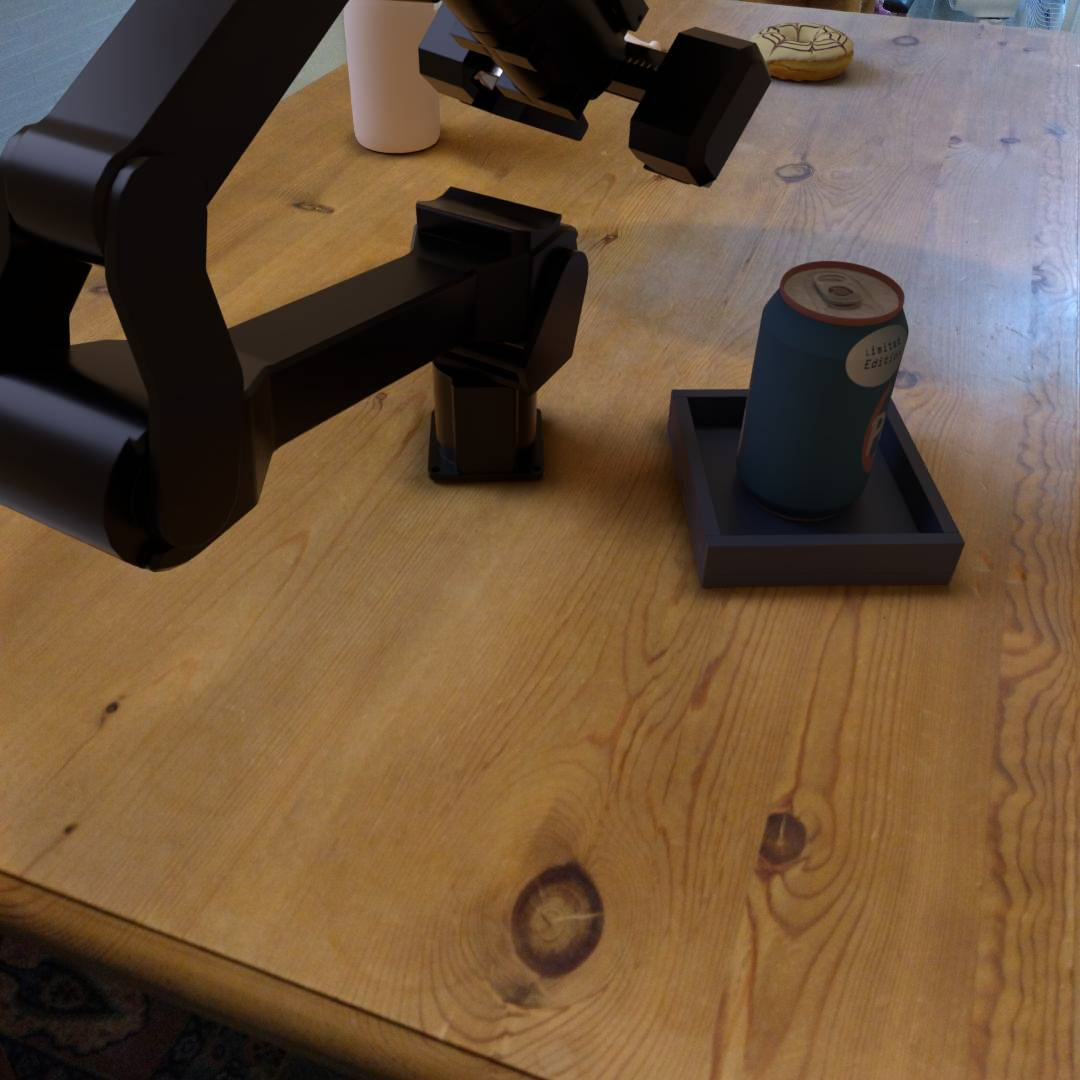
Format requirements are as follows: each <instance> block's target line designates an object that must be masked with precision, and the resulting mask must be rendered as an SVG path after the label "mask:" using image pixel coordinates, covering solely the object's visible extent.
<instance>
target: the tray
mask: <svg viewBox="0 0 1080 1080" xmlns="http://www.w3.org/2000/svg"><path fill="white" fill-rule="evenodd" d="M748 390H749V388H731V389H730V388H709V389H708V388H707V389H706V388H703V389H700V388H699V389H698V388H693V389H687V388H686V389H685V388H684V389H683V388H682V389H678V388H677V389H676V388H675V389H671V393H670V399H669V407H668V416H667V418H668V419H667V425H666V429H667V434H668V439H669V444H670V449H671V453H672V457H673V458H672V459H673V462H674V467H675V472H676V476H677V480H678V486H679V489H680V490H679V491H680V494H681V499H682V503H683V508H684V513H685V518H686V521H687V526H688V530H689V535H690V539H691V545H692V549H693V554H694V559H695V563H696V568H697V572H698V577H699V581H700V585H701V587H702V588H747V587H749V588H752V587H756V588H758V587H760V588H761V587H824V586H826V587H829V586H831V587H832V586H833V587H834V586H897V585H898V586H899V585H901V586H902V585H903V586H904V585H905V586H908V585H912V586H913V585H950V583H951V582H952V579H953V577H954V573H955V572H956V569H957V567H958V563H959V560H960V558H961V556H962V553H963V550H964V548H965V545H966V542H965V540H964V538H963V536H962V534H961V532H960V530H959V528H958V526H957V523H956V522H955V520H954V518H953V516H952V513H951V512H950V510H949V508H948V506H947V505H946V502H945V500H944V499H943V497H942V494H941V492H940V490H939V488H938V486H937V485H936V483H935V481H934V479H933V477H932V475H931V473H930V471H929V469H928V467H927V465H926V463H925V461H924V459H923V457H922V455H921V453H920V451H919V449H918V447H917V445H916V443H915V441H914V440H913V437H912V435H911V434H910V432H909V430H908V427H907V425H906V424H905V422H904V420H903V418H902V416H901V414H900V412H899V410H898V408H897V406H896V404H895V402H894V400H893V398H892V397H891V399H890V403H889V407H888V410H887V414H886V417H885V421H884V424H883V428H882V432H881V435H880V439H879V442H878V446H877V449H876V453H875V457H874V460H873V464H872V467H871V471H870V474H869V478H868V482H867V485H866V488H865V490H864V491H863V493H862V494H861V495H860V497H859V498H858V499H857V500H855V501H854V502H853V503H852V504H851V505H849V506H848V507H846V508H845V509H844V510H842V511H841V512H840V513H838V514H837V515H835V516H833V517H830V518H828V519H824V520H819V521H795V520H789V519H785V518H782V517H779V516H776V515H774V514H771V513H769V512H768V511H766V510H764V509H763V508H761V507H760V506H758V505H757V504H756V503H755V502H754V501H753V500H752V499H751V497H750V496H749V494H748V492H747V490H746V489H745V487H744V485H743V483H742V481H741V479H740V477H739V475H738V472H737V467H736V457H737V452H738V446H739V440H740V435H741V429H742V424H743V418H744V412H745V407H746V401H747V395H748Z"/></svg>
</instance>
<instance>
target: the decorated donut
mask: <svg viewBox="0 0 1080 1080" xmlns="http://www.w3.org/2000/svg"><path fill="white" fill-rule="evenodd" d="M749 41H751V42H754V43H757V45H758V47H759V49H760V51H761V54H762V56H763V58H764V60H765V62H766V64H767V66H768V69H769V72H770V75H771V77H772V76H773V77H774V78H777V79H780V80H792V81H795V82H803V81H804V80H805V81H807V82H808V81H809V82H810V81H811V82H812V81H815V82H817V81H824V80H830V79H833V78H835V77H837V76H839V75H840V74H842V73H844V72H845V71H846V70H847V68H848V67H849V66H850V64H851V63H852V61H853V57H854V53H855V51H854V47H855V44H854V42H853V40H852V39H851V38H850V37H849V35H847V34H846V33H845V32H843V31H841V30H840V29H837V28H835V27H832V26H830V25H828V24H822V23H816V22H783V23H778V24H773V25H769V26H766V27H764V28H763V29H761V30H759V31H758V32H756V33H755V34H753V35H752V36H751V38H750V39H749Z"/></svg>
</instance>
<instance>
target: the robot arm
mask: <svg viewBox="0 0 1080 1080" xmlns="http://www.w3.org/2000/svg"><path fill="white" fill-rule="evenodd" d="M348 1H349V0H135V1H134V2H133V4H132V5H131V6H130V8H129V9H128V10H127V11H126V13H125V14H124V15H123V16H122V18H121V19H120V20H119V21H118V23H117V25H116V26H115V27H114V28H113V30H112V31H111V32H110V33H109V35H108V36H107V37H106V39H105V40H104V42H103V43H102V44H101V45H100V46H99V48H98V49H97V50H96V51H95V53H94V54H93V56H92V57H91V58H90V59H89V61H88V62H87V63H86V65H84V67H83V69H82V70H81V71H80V72H79V74H78V75H77V77H76V78H75V79H74V80H73V81H72V83H71V84H70V85H69V87H68V88H67V89H66V90H65V91H64V94H62V96H61V97H60V98H59V99H58V101H57V102H56V104H55V105H54V106H53V107H52V109H51V110H50V111H49V113H48V114H46V115H45V116H44V117H43V118H41V119H40V120H39V121H37V122H34V123H29V124H26V125H25V124H24V125H23V126H22V127H21V128H20V129H19V130H18V131H17V132H15V133H14V134H13V135H12V136H11V137H9V138H8V140H7V142H6V143H5V146H4V147H3V149H2V152H1V153H0V506H3V507H4V508H7V509H9V510H11V511H13V512H16V513H18V514H20V515H22V516H24V517H27V518H29V519H31V520H32V521H36V522H37V523H39V524H42V525H44V526H45V527H48V528H51V529H52V530H54V531H57V532H59V533H61V534H63V535H66V536H67V537H70V538H72V539H74V540H76V541H78V542H80V543H83V544H85V545H88V546H90V547H92V548H94V549H95V550H98V551H100V552H102V553H105V554H107V555H109V556H111V557H113V558H115V559H117V560H119V561H122V562H124V563H126V564H128V565H131V566H134V567H135V568H139V569H141V570H148V571H149V572H152V573H162V572H169V571H172V570H174V569H177V568H179V567H182V566H184V565H186V564H187V563H189V562H190V561H192V560H193V559H194V558H196V557H197V556H198V555H200V554H201V553H203V552H204V551H205V550H206V549H207V548H208V547H209V546H211V545H212V544H213V543H214V542H216V541H217V540H218V539H219V538H220V537H222V536H223V534H225V533H226V532H227V531H228V530H229V529H231V528H233V526H235V524H236V523H238V522H239V521H240V520H242V518H244V517H245V516H247V514H249V513H251V511H252V510H253V509H254V508H255V507H256V506H257V505H258V504H259V502H260V498H261V495H262V491H263V489H264V485H265V481H266V477H267V475H268V471H269V467H270V465H271V461H272V457H273V455H274V453H275V452H276V451H278V449H280V448H282V447H284V446H285V445H287V444H289V443H291V442H292V441H294V440H296V439H298V438H300V437H301V436H303V435H305V434H306V433H308V432H310V431H312V430H313V429H316V428H317V427H319V426H321V425H323V424H324V423H325V422H327V421H329V420H331V419H333V418H335V417H337V416H338V415H340V414H342V413H343V412H345V411H347V410H348V409H351V408H352V407H354V406H356V405H358V404H360V403H361V402H363V401H365V400H366V399H368V398H370V397H372V396H373V395H375V394H377V393H379V392H380V391H382V390H384V389H386V388H387V387H389V386H391V385H393V384H395V383H397V382H398V381H400V380H402V379H404V378H405V377H407V376H409V375H410V374H412V373H414V372H416V371H418V370H419V369H422V368H423V367H424V366H427V365H428V364H430V363H431V367H432V385H433V402H434V409H433V410H432V411H431V413H430V427H429V428H430V429H429V443H428V457H427V458H428V459H427V476H428V479H430V480H431V481H433V482H441V481H442V482H457V481H458V482H460V481H462V482H463V481H464V482H465V481H466V482H467V481H471V482H473V481H474V482H475V481H476V482H477V481H539V480H542V479H543V478H544V477H545V474H546V466H545V465H546V463H545V449H544V434H543V420H542V419H543V418H542V410H541V409H540V408H538V391H539V390H541V388H543V386H544V385H545V384H546V383H547V382H548V381H549V380H550V379H551V378H553V377H554V376H555V374H557V373H558V371H560V370H561V368H563V367H564V366H565V365H566V364H567V362H569V360H571V359H572V357H573V354H574V349H575V346H576V340H577V335H578V331H579V325H580V319H581V316H582V310H583V305H584V300H585V296H586V291H587V286H588V281H589V280H588V279H589V271H590V269H589V268H590V267H589V260H588V256H587V254H586V253H585V252H583V250H579V249H578V241H577V239H578V237H579V232H578V229H577V228H576V227H575V226H573V225H572V224H568V223H564V222H562V219H563V215H562V213H558V212H555V211H551V210H546V209H543V208H538V207H535V206H532V205H527V204H523V203H520V202H514V201H512V200H508V199H503V198H500V197H496V196H492V195H487V194H484V193H480V192H476V191H472V190H469V189H464V188H460V187H457V186H452V185H450V186H449V187H448V188H447V189H446V190H445V191H444V192H443V193H442V194H441V195H440V196H438V197H436V198H434V199H431V200H417V201H416V202H415V216H416V217H415V218H416V223H415V224H414V225H413V230H412V236H411V242H410V248H409V252H408V253H406V254H405V255H403V256H401V257H398V258H395V259H392V260H391V261H387V262H386V263H383V264H381V265H378V266H376V267H372V268H370V269H367V270H366V271H364V272H361V273H359V274H357V275H354V276H351V277H349V278H346V279H345V280H342V281H340V282H337V283H334V284H332V285H330V286H327V287H325V288H321V289H320V290H318V291H315V292H313V293H311V294H309V295H306V296H303V297H301V298H298V299H296V300H293V301H291V302H288V303H286V304H284V305H282V306H279V307H276V308H274V309H272V310H269V311H267V312H264V313H262V314H259V315H257V316H255V317H252V318H250V319H247V320H245V321H242V322H240V323H238V324H236V325H232V326H230V327H228V326H227V323H226V320H225V318H224V314H223V312H222V310H221V307H220V304H219V302H218V298H217V295H216V293H215V291H214V288H213V285H212V282H211V279H210V276H209V273H208V270H207V254H208V253H207V252H208V251H207V250H208V217H209V215H208V213H209V212H208V206H209V205H210V203H211V202H212V200H213V199H214V197H215V196H216V195H217V193H218V192H219V190H220V189H221V187H222V186H223V184H224V183H225V182H226V180H227V179H228V177H229V176H230V174H231V173H232V171H233V170H234V168H235V167H236V165H237V164H238V163H239V161H240V160H241V159H242V157H243V155H244V154H245V152H246V151H247V150H248V148H249V146H250V145H251V144H252V143H253V141H254V140H255V138H256V137H257V135H258V134H259V132H260V131H261V129H262V128H263V126H264V125H265V123H266V122H267V121H268V119H269V118H270V116H271V115H272V114H273V112H274V110H275V109H276V108H277V106H278V105H279V103H280V101H282V99H283V97H284V96H285V95H286V93H287V91H288V90H289V89H290V87H291V86H292V84H293V83H294V82H295V80H296V79H297V77H298V76H299V74H300V73H301V71H302V70H303V68H304V67H305V65H306V64H307V62H308V61H309V60H310V58H311V57H312V55H313V54H314V52H316V50H317V48H318V47H319V45H320V43H321V42H322V41H323V39H324V38H325V37H326V35H327V33H328V32H329V31H330V29H331V28H332V26H333V25H334V24H335V22H336V21H337V19H338V17H340V14H341V13H342V12H343V11H344V7H345V6H346V4H347V3H348ZM389 1H404V2H420V3H434V4H439V3H440V2H441V3H440V6H439V8H438V10H437V11H436V13H435V17H434V19H433V21H432V23H431V24H430V26H429V28H428V30H427V32H426V34H425V36H424V37H423V39H422V41H421V43H420V45H419V47H418V56H419V73H420V74H421V75H422V76H423V77H424V78H425V79H426V80H427V81H428V82H429V83H430V84H431V85H432V86H433V88H434V89H435V90H436V91H437V92H438V93H439V94H442V95H444V96H447V97H450V98H452V99H455V100H458V102H460V103H461V104H464V105H466V106H468V107H471V108H474V109H477V110H480V111H483V112H486V113H487V114H491V115H493V116H496V117H500V118H504V119H506V120H509V121H513V122H516V123H519V124H522V125H526V126H529V127H532V128H535V129H539V130H541V131H543V132H544V131H545V132H548V133H551V134H554V135H557V136H561V137H564V138H566V139H570V140H573V141H576V142H581V141H582V140H583V138H584V137H585V135H586V133H587V131H588V129H589V122H588V120H587V118H586V116H585V114H584V111H585V110H586V108H587V106H588V104H589V102H590V101H595V100H597V99H598V98H599V97H600V96H602V95H603V94H604V92H605V93H607V94H610V95H613V96H617V97H620V98H623V99H626V100H629V101H632V102H635V103H638V104H637V106H636V108H635V110H634V112H633V113H632V115H631V117H630V119H629V130H628V131H629V133H628V144H627V145H628V146H627V148H628V149H629V150H630V152H631V153H632V154H633V156H634V157H635V158H636V159H637V160H639V162H641V163H643V166H642V168H643V170H645V171H647V172H651V173H653V174H655V175H658V176H660V177H663V178H666V179H670V180H672V181H676V182H677V183H680V184H683V185H689V186H691V185H692V186H695V187H698V188H706V189H710V188H711V187H712V185H713V183H714V182H715V181H717V179H718V177H719V176H720V173H722V170H723V169H724V168H725V167H724V166H725V165H726V163H727V161H728V159H729V158H730V156H731V154H732V152H733V150H734V149H735V147H736V145H737V144H738V142H739V140H740V138H741V136H742V135H743V133H744V131H745V129H746V128H747V126H748V124H749V123H750V121H751V119H752V117H753V115H754V113H755V112H756V110H757V108H758V107H759V105H760V103H761V101H762V100H763V98H764V96H765V94H766V93H767V90H768V89H769V88H770V85H771V83H773V79H772V76H771V75H770V72H769V69H768V66H767V64H766V62H765V60H764V58H763V56H762V54H761V51H760V49H759V47H758V45H757V43H754V42H751V41H750V40H747V39H744V38H739V37H737V36H736V37H735V36H731V35H728V34H724V33H720V32H717V31H713V30H711V29H710V30H709V29H706V28H702V27H698V26H694V27H690V28H687V29H685V30H682V31H679V32H678V33H677V34H676V36H675V38H674V40H673V42H672V43H671V45H670V47H669V48H668V51H667V52H666V51H663V50H661V51H659V50H656V49H652V48H649V47H645V46H642V45H638V44H635V43H632V42H628V41H626V40H625V39H624V37H625V36H626V34H627V32H628V33H629V32H632V33H636V32H638V31H639V28H640V27H641V25H642V23H643V22H644V20H645V18H646V16H647V14H648V12H649V10H650V7H649V6H648V4H647V2H646V1H645V0H389ZM93 267H97V268H99V269H102V270H104V278H105V283H106V289H107V292H108V294H109V297H110V300H111V303H112V305H113V307H114V308H113V309H114V310H115V313H116V315H117V318H118V321H119V323H120V326H121V328H122V331H123V334H124V336H125V338H126V339H114V338H113V339H111V338H110V339H98V340H93V341H87V342H81V343H75V344H71V323H70V317H71V314H72V311H73V309H74V307H75V305H76V302H77V300H78V298H79V296H80V294H81V292H82V290H83V288H84V286H85V284H86V281H87V279H88V277H89V275H90V273H91V271H92V268H93Z"/></svg>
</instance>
